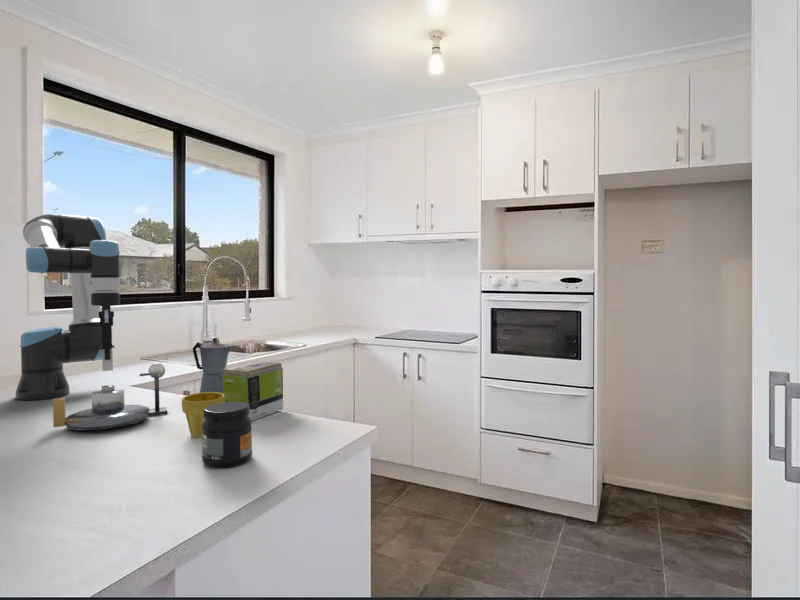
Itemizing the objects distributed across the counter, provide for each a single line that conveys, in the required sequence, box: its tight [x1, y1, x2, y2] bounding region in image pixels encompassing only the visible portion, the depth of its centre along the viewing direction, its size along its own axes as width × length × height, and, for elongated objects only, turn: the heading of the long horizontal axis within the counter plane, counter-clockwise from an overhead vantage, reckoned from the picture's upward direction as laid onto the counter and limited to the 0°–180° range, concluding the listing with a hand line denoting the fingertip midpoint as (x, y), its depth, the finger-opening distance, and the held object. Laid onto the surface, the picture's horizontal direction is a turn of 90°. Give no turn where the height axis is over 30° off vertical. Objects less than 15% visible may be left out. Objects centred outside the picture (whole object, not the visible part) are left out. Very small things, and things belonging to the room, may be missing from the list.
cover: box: [91, 384, 125, 413], centre depth 141 cm, size 8×8×7 cm
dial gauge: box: [138, 362, 169, 417], centre depth 146 cm, size 5×7×15 cm
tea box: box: [222, 360, 284, 421], centre depth 145 cm, size 15×10×15 cm, turn 154°
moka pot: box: [192, 337, 232, 393], centre depth 170 cm, size 10×15×20 cm, turn 78°
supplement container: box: [201, 402, 253, 469], centre depth 108 cm, size 10×10×12 cm
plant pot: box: [181, 392, 225, 438], centre depth 127 cm, size 10×10×10 cm
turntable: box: [52, 397, 150, 431], centre depth 135 cm, size 20×22×7 cm
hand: (107, 370), depth 148 cm, fingers closed
